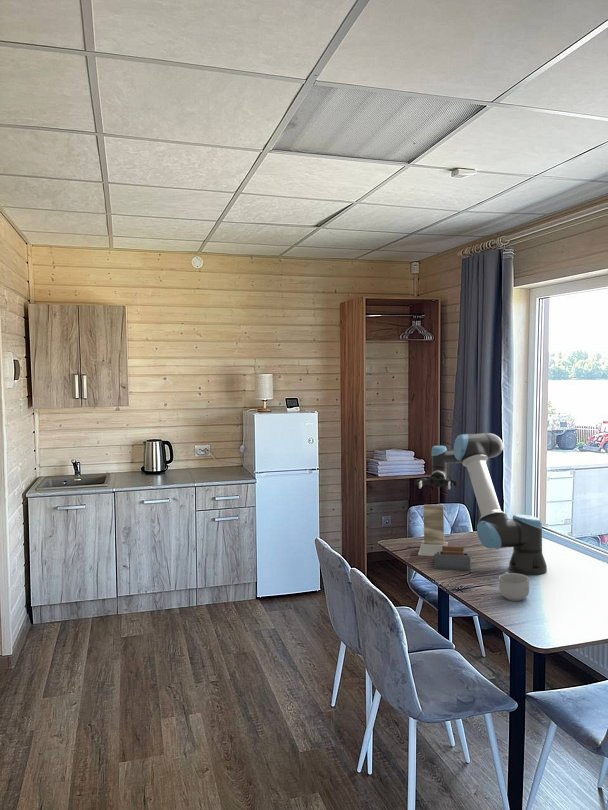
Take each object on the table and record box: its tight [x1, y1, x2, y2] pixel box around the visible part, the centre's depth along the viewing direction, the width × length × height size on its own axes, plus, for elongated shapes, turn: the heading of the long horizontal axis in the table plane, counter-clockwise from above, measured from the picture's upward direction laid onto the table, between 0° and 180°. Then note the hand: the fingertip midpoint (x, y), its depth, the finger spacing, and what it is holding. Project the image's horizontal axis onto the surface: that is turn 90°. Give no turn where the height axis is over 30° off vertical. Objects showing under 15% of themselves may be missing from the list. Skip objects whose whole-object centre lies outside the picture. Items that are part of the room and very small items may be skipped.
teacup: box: [498, 571, 530, 602], centre depth 229 cm, size 14×11×8 cm
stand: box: [417, 540, 449, 557], centre depth 283 cm, size 10×14×6 cm
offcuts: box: [442, 545, 465, 555], centre depth 262 cm, size 6×9×8 cm
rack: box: [433, 551, 472, 572], centre depth 265 cm, size 15×15×8 cm
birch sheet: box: [422, 503, 445, 545], centre depth 282 cm, size 2×9×22 cm, turn 73°
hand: (434, 486), depth 288 cm, fingers open, 13 cm apart
